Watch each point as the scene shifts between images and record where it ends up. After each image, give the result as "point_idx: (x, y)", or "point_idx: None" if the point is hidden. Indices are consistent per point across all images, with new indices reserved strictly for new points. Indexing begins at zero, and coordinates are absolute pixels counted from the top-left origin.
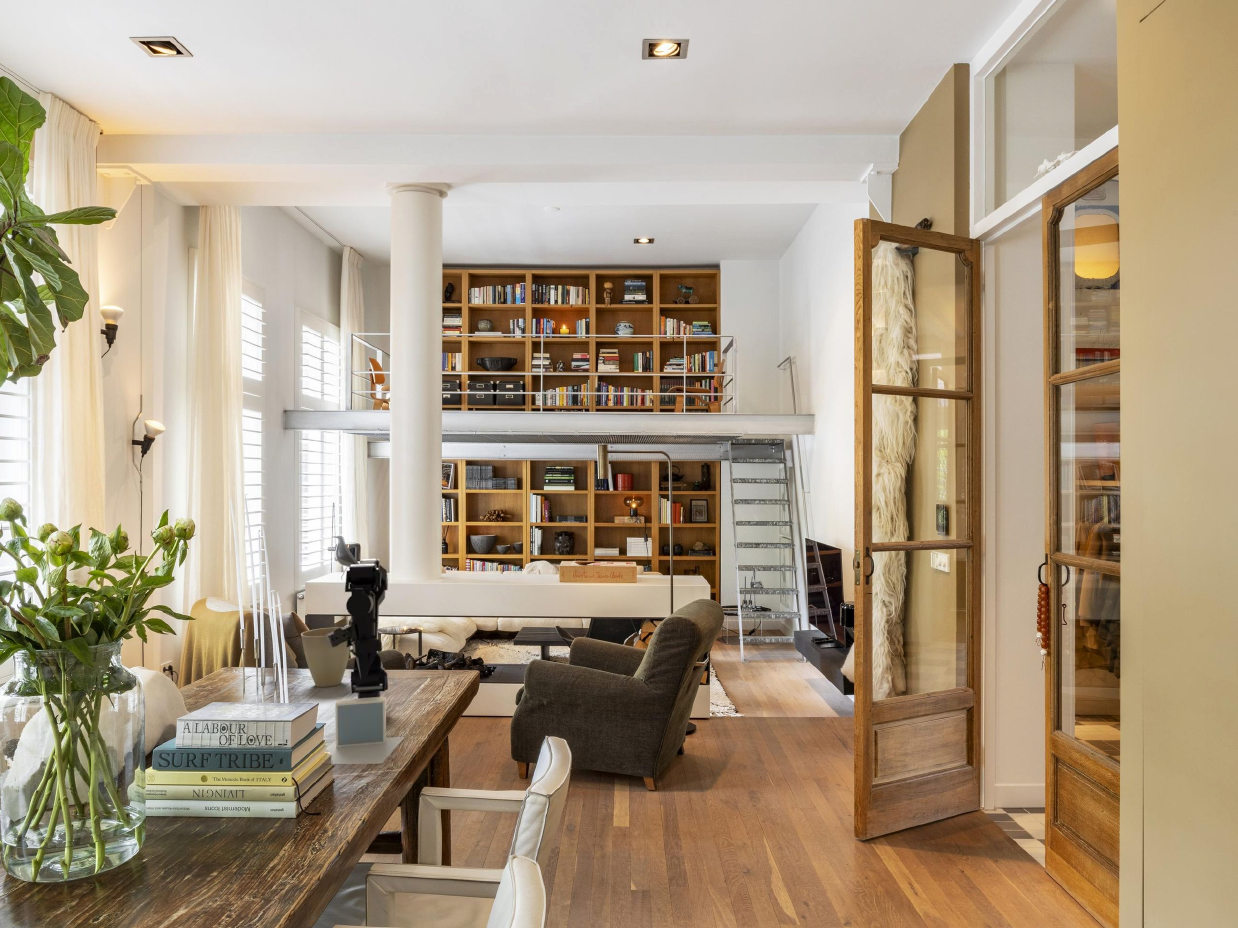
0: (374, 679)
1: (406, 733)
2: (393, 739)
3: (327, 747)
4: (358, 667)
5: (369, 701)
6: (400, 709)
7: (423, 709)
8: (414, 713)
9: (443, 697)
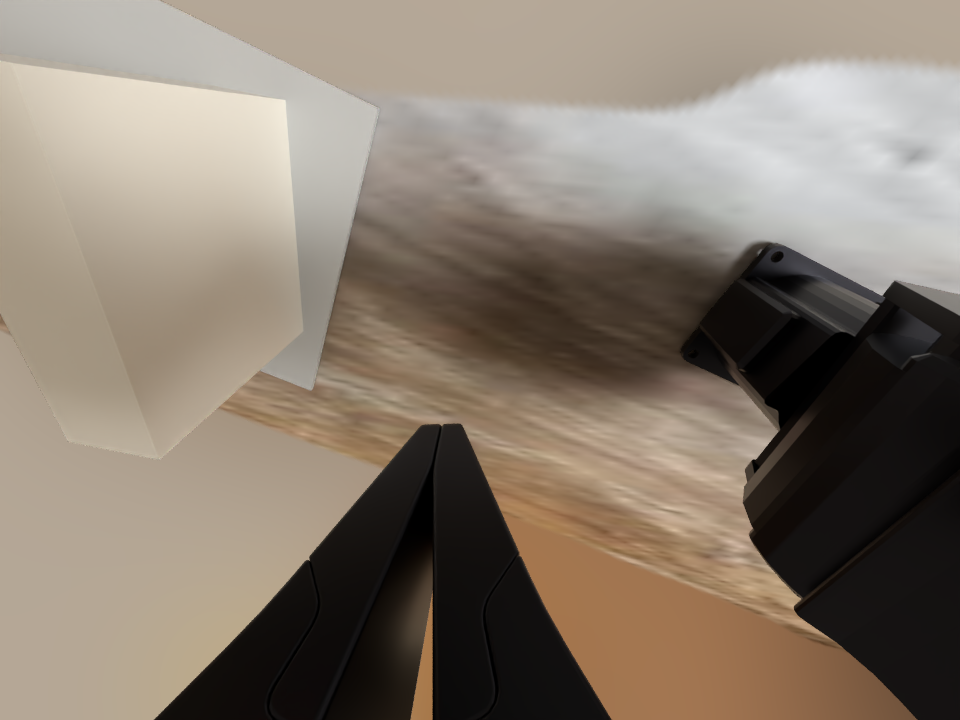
0: (767, 492)
1: (373, 404)
2: (291, 353)
3: (213, 29)
4: (463, 519)
5: (25, 354)
6: (733, 448)
7: (664, 506)
8: (630, 474)
9: (775, 580)
